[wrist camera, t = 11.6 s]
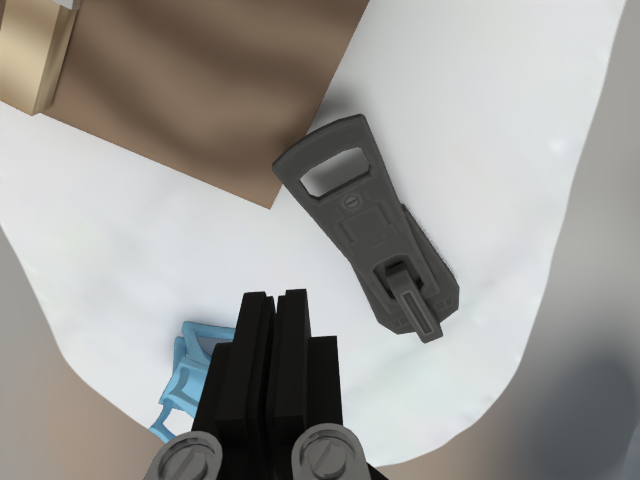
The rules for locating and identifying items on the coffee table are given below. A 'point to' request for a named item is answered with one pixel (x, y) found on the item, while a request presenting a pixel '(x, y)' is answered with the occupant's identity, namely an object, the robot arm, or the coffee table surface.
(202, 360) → the chair
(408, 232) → the zipper pull
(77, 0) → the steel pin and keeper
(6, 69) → the link
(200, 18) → the walnut board
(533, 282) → the coffee table surface
